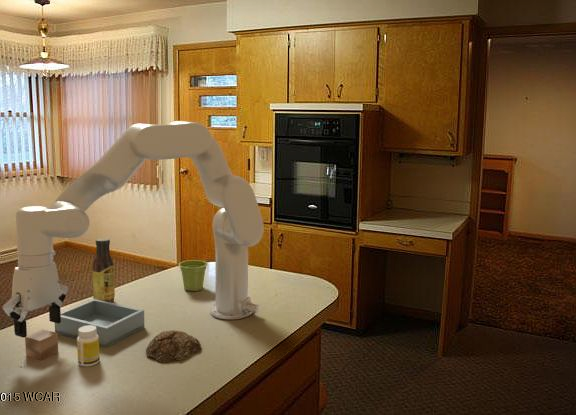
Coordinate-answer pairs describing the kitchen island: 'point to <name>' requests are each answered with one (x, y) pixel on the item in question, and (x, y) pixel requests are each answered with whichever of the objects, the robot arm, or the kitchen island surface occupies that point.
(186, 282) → the plant pot
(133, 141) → the robot arm
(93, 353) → the supplement bottle
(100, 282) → the sauce bottle
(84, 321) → the tote
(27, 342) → the walnut block
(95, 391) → the kitchen island surface
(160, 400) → the kitchen island surface
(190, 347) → the bread roll
